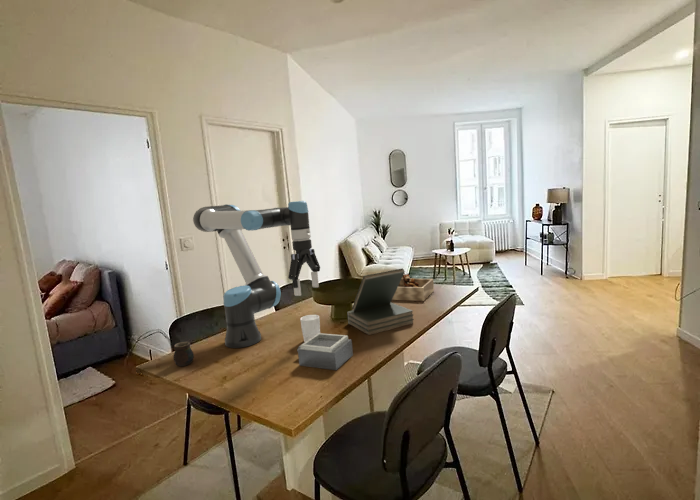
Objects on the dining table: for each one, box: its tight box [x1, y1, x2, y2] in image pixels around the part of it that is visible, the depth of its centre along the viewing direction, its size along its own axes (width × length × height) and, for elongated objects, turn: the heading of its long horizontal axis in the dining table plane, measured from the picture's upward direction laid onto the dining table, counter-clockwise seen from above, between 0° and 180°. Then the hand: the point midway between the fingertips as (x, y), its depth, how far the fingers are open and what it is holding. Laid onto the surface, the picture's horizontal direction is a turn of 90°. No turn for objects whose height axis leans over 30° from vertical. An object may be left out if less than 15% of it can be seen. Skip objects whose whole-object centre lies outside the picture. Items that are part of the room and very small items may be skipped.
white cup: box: [300, 314, 321, 343], centre depth 163 cm, size 8×8×10 cm
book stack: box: [346, 268, 414, 336], centre depth 176 cm, size 23×20×25 cm
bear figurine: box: [402, 273, 419, 287], centre depth 221 cm, size 14×15×12 cm
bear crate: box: [392, 278, 435, 302], centre depth 221 cm, size 21×21×7 cm
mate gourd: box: [173, 339, 195, 367], centre depth 151 cm, size 7×8×10 cm
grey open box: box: [297, 332, 354, 371], centre depth 143 cm, size 19×13×8 cm
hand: (307, 291), depth 161 cm, fingers open, 13 cm apart
